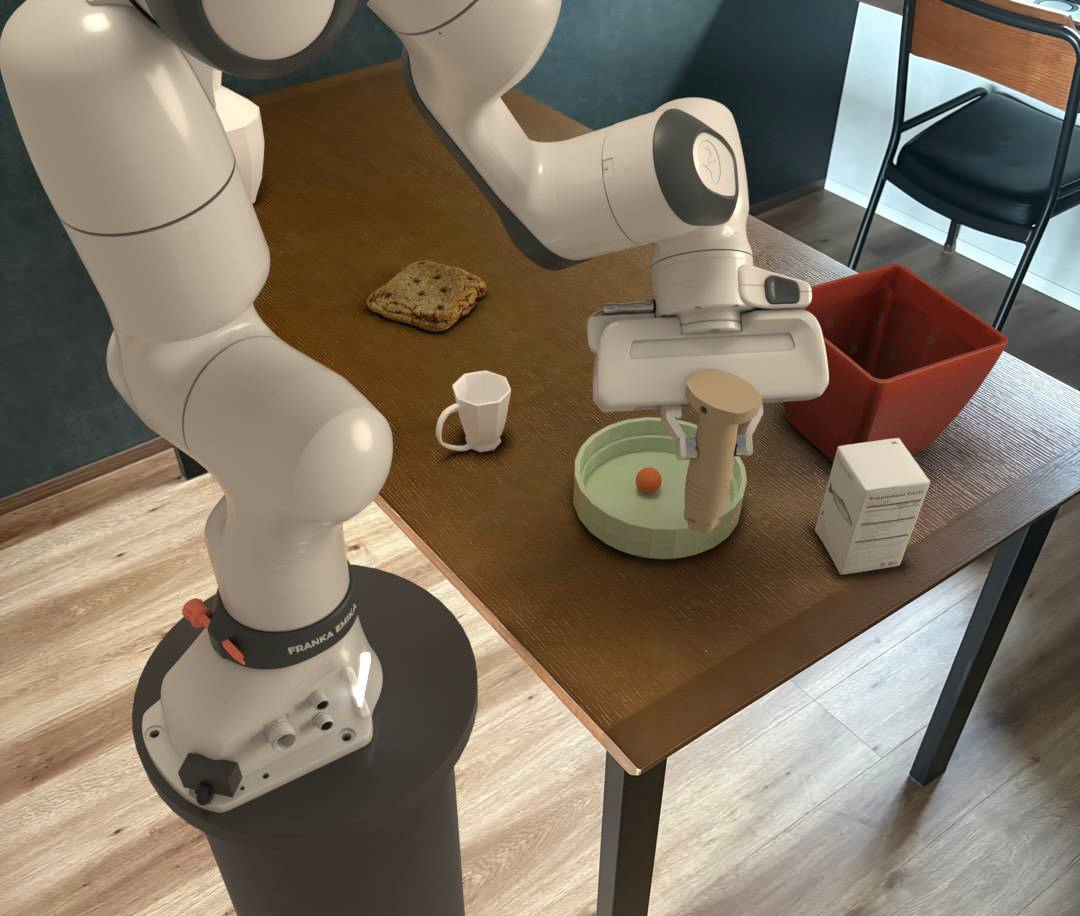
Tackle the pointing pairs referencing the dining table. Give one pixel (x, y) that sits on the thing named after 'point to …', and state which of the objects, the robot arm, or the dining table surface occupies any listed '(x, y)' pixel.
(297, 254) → the dining table surface
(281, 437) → the robot arm
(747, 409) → the handle
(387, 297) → the pastry
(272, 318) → the dining table surface
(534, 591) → the dining table surface
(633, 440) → the bowl
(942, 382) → the flower pot
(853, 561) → the white packaging box
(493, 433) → the cup
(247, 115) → the vase
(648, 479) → the ball
